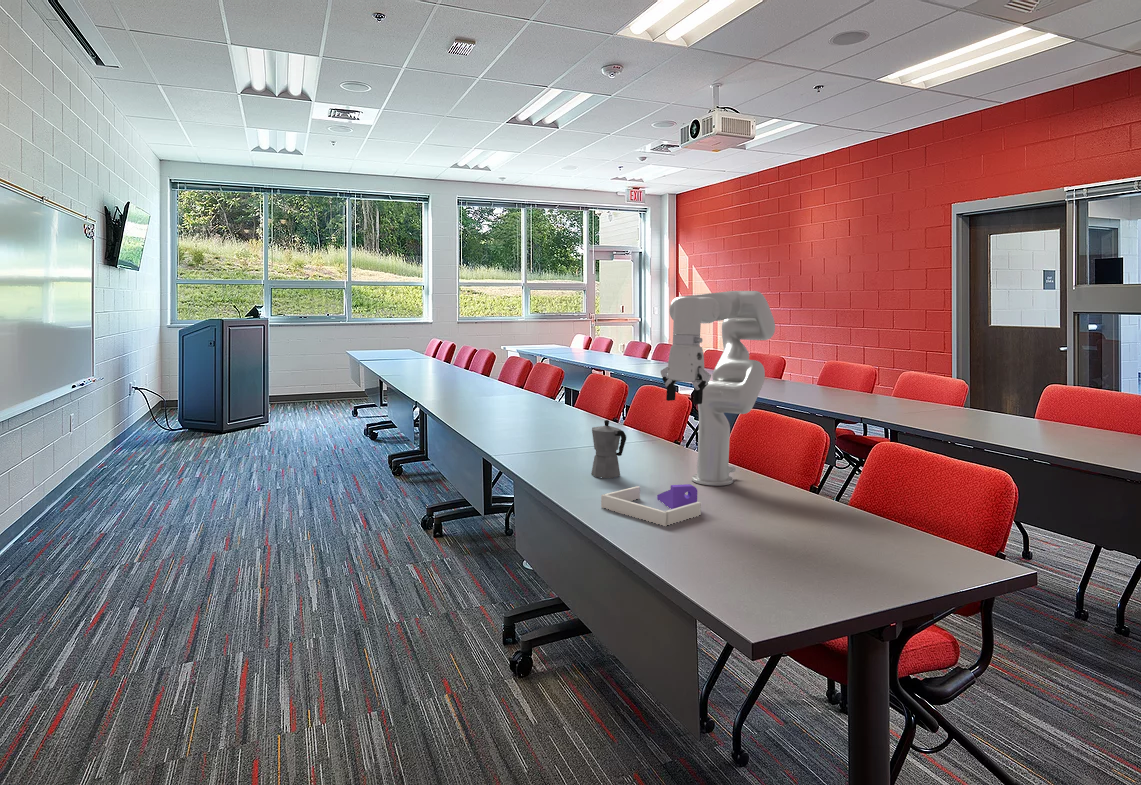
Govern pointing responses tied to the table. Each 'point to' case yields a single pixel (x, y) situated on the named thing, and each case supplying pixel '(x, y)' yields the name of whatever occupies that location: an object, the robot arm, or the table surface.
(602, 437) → the coffeepot
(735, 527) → the table surface
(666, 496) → the bracket
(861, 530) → the table surface
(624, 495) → the white u-shaped fence
